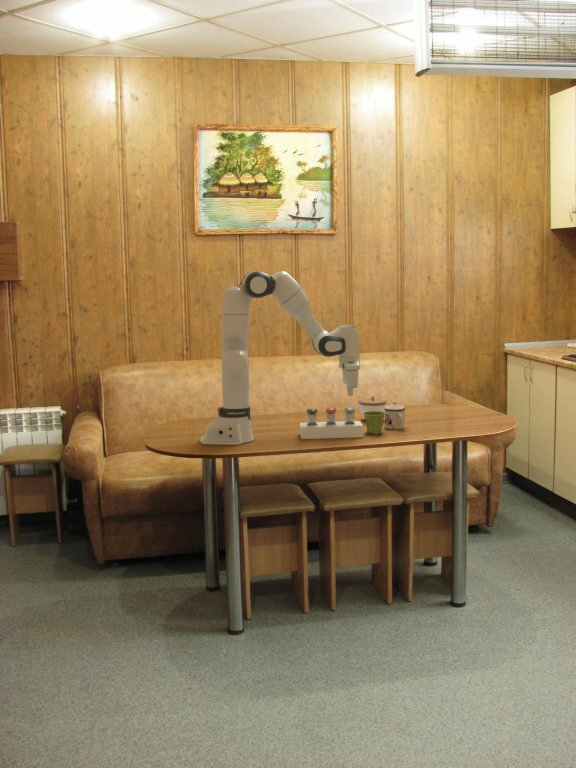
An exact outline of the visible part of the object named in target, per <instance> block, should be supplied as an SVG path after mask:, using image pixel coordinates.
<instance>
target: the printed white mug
mask: <svg viewBox="0 0 576 768" xmlns="http://www.w3.org/2000/svg"><path fill="white" fill-rule="evenodd" d="M384 409H385V415H384V428H385V429H387V428H388V430H401V429H402V428H403V429H404V428H405V415H406V414H405V412H406V411H405V410H406V408H405V406H402V405H400V404H399V403H398V401H392V403H391V404H389V405H386V407H385V408H384Z"/></svg>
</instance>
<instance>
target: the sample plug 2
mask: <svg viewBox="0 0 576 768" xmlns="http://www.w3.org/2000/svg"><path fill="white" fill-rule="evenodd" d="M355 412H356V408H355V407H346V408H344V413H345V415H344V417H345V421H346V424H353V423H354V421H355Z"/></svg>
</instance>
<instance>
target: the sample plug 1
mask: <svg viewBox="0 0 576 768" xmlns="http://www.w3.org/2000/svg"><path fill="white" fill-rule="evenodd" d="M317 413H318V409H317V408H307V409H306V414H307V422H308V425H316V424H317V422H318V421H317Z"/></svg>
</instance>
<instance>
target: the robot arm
mask: <svg viewBox="0 0 576 768" xmlns="http://www.w3.org/2000/svg"><path fill="white" fill-rule="evenodd" d="M270 295H272V296H273V298H275V299H276V300H277V302H278V303H279V305H280V306H281V307H282V308H283V310H285V312H286V313H287V314H288V315H289V316H290V317H292V318H294V319H296V321H297V322H299V323H300V325H301V326H302V327H303V328H304V330H305V331H306V333H307V334H308V335H309V337H310V339H311V342H312V347H313V349H314V351H315V352H316V353H317V354H319V355H322V356H324V357H328V358H331V357H336V356H338V368H339V369H341V372H342V381H343V383H344V384H345V385H346V389H347V391H346V392H347V396H349V397H353V396H354V389H358V386H359V385H358V384H359V371H360V369H361V357H360V356H361V355H360V343H361V342H360V334H359V329H358V328H357V327H356V326H353V325H348V324H340V325H339V326H338V327H337V328H335V329H333V330H331V331H330V332H329V330H325V328H323V327H322V326H321V324H320V323H319V322H318V320H317V318H316V317H315V316H314V315H313V313H312V311H311V305H310V300H309V298H308V296H307V293H306V292H305V291H304V289H303V288H302V287H301V285H300V284H299V283H298V282H297V280H295V278H293V276H292V275H290V274H289V273H288V272H287V271H283V270H281V271H277V272H275V273H274V274H272V275H270V274H267V272H264V271H261V270H259V269H258V270H257V269H254V270H251V271H249V272H247V273H245V275H244V276H243V277H242V279H241V281H240V283H239V284H238V286H231V287H229V288H227V289H226V290H225V291H224V296H223V300H222V307H221V309H222V310H221V355H220V356H221V358H220V359H221V361H220V362H221V387H222V388H221V389H222V391H221V393H222V406H217V409H216V410H217V415H218V416H216V418H214V419H213V420H212V421H211V422H209V424H207V426H206V428H205V433H204V435H202V436H201V437H200V439H199V442H200V444H202V445H221V446H222V445H232V446H237V445H238V446H239V445H242V444H245V443H249V442H253V441H254V440H255V437H254V435H253V434H254V433H253V429H252V424H251V420H252V419H251V418H252V408H251V406H250V383H249V382H250V378H249V377H250V374H249V373H250V372H249V371H250V369H249V367H250V366H249V365H250V364H249V363H250V362H249V358H248V357H249V336H250V333H249V332H250V330H249V329H250V304H251V301H252V300H253V299H254V298H255V299H261V298H264V297H267V296H270Z"/></svg>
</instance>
